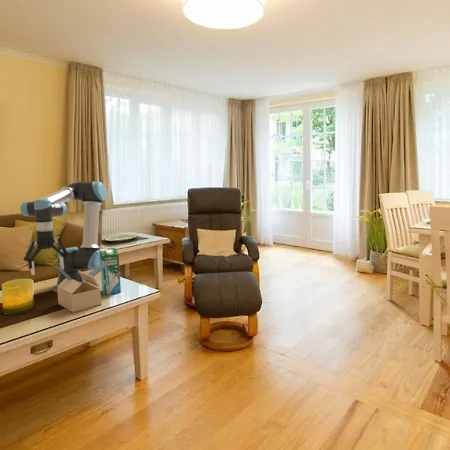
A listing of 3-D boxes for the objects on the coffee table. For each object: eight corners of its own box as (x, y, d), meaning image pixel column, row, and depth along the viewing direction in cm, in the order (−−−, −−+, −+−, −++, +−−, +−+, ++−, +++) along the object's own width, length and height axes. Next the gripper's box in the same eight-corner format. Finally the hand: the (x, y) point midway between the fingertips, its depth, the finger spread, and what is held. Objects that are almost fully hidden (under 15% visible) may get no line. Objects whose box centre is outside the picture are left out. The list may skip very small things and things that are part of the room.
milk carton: (104, 295, 206) (101, 252, 202) (102, 290, 214) (99, 249, 210) (120, 292, 210) (118, 250, 206) (117, 288, 218) (115, 247, 214)
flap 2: (78, 271, 198) (93, 259, 204) (84, 280, 201) (99, 269, 207) (92, 277, 186) (108, 264, 192) (99, 287, 189) (114, 274, 195)
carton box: (58, 304, 192) (57, 287, 191) (85, 297, 203) (84, 281, 202) (72, 312, 180) (71, 295, 179) (101, 304, 191) (100, 288, 189)
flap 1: (57, 287, 191) (44, 274, 185) (67, 277, 194) (54, 264, 189) (71, 294, 179) (57, 280, 173) (81, 283, 182) (67, 270, 177)
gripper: (19, 233, 168) (23, 278, 171) (73, 228, 186) (75, 268, 189) (14, 232, 173) (17, 275, 176) (67, 227, 191) (69, 266, 194)
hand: (47, 272), depth 182 cm, fingers open, 13 cm apart
